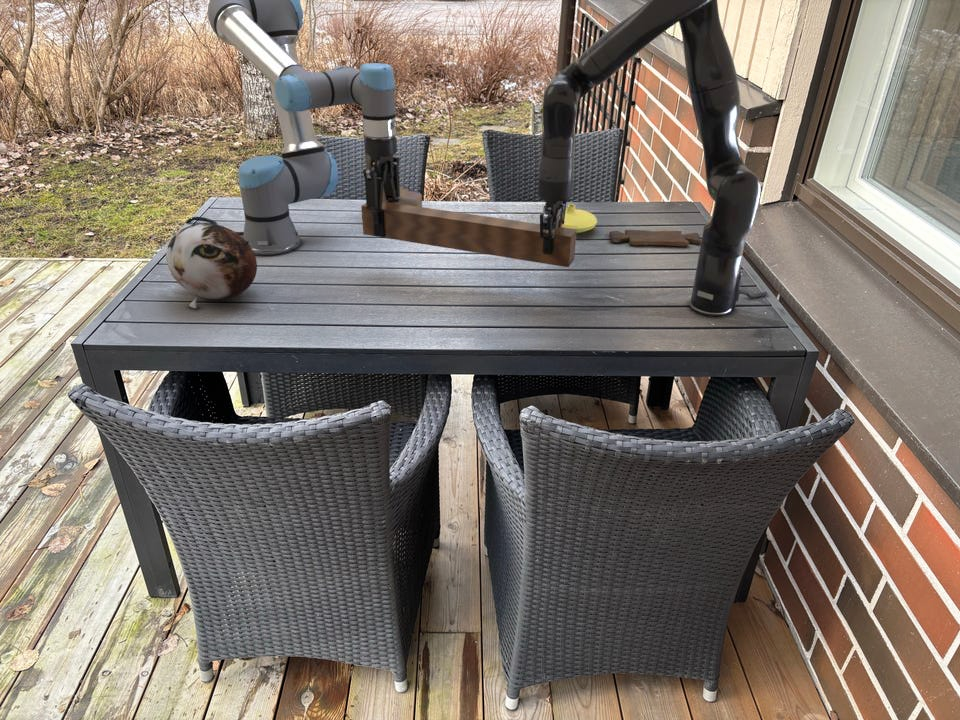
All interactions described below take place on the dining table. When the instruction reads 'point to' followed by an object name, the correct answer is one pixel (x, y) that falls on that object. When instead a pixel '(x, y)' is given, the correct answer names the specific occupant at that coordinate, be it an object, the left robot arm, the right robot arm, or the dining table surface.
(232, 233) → the cat face ball toy
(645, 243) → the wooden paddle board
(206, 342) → the dining table surface
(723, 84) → the right robot arm
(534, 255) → the bar
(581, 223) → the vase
